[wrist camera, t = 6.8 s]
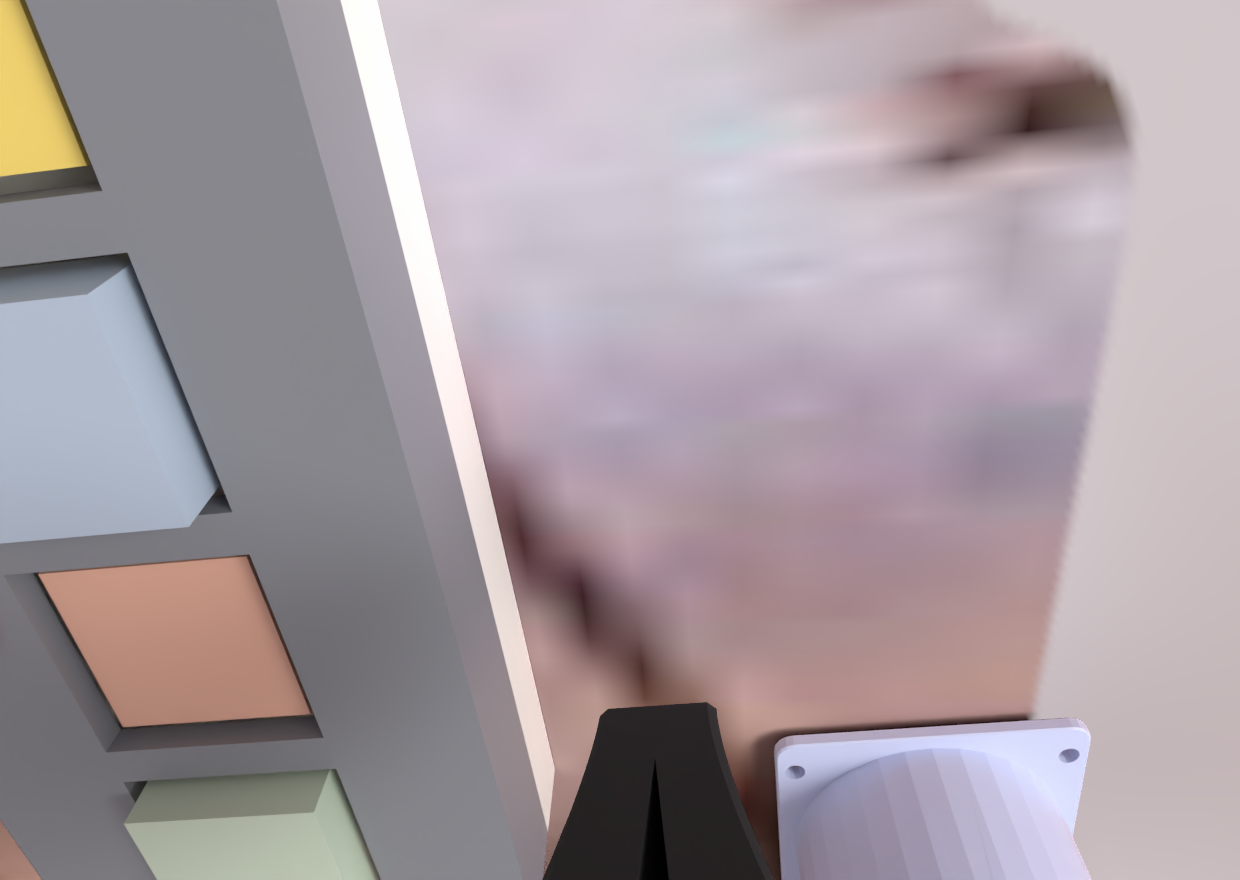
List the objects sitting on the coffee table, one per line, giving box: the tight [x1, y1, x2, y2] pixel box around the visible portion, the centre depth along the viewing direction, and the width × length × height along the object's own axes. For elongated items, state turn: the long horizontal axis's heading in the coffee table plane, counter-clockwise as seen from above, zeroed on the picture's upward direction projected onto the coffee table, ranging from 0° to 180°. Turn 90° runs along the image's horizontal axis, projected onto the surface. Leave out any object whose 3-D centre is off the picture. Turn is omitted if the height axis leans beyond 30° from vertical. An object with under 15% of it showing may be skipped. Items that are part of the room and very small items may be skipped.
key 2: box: [38, 554, 312, 727], centre depth 19 cm, size 4×4×2 cm
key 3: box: [0, 254, 221, 544], centre depth 15 cm, size 4×4×2 cm
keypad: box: [0, 0, 555, 880], centre depth 18 cm, size 24×11×5 cm, turn 7°
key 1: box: [124, 769, 381, 880], centre depth 20 cm, size 4×4×2 cm
